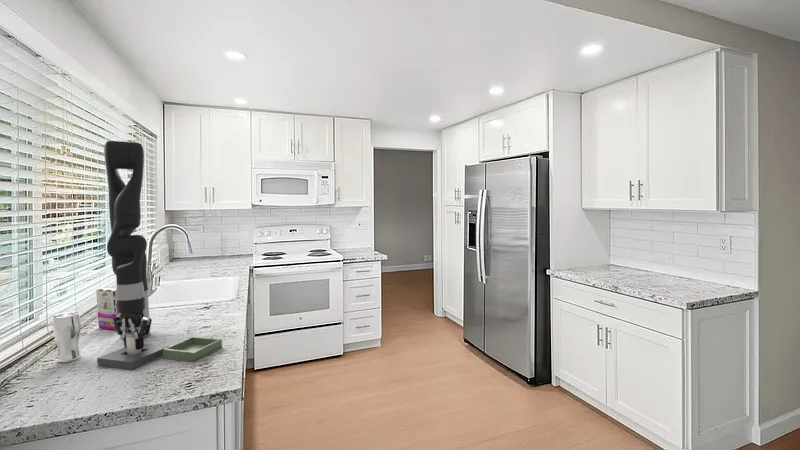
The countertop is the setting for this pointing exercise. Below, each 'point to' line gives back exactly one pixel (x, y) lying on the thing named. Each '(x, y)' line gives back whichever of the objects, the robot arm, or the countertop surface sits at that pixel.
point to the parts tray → (192, 349)
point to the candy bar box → (107, 307)
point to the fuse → (131, 344)
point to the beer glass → (67, 336)
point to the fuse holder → (131, 357)
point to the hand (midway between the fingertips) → (134, 348)
